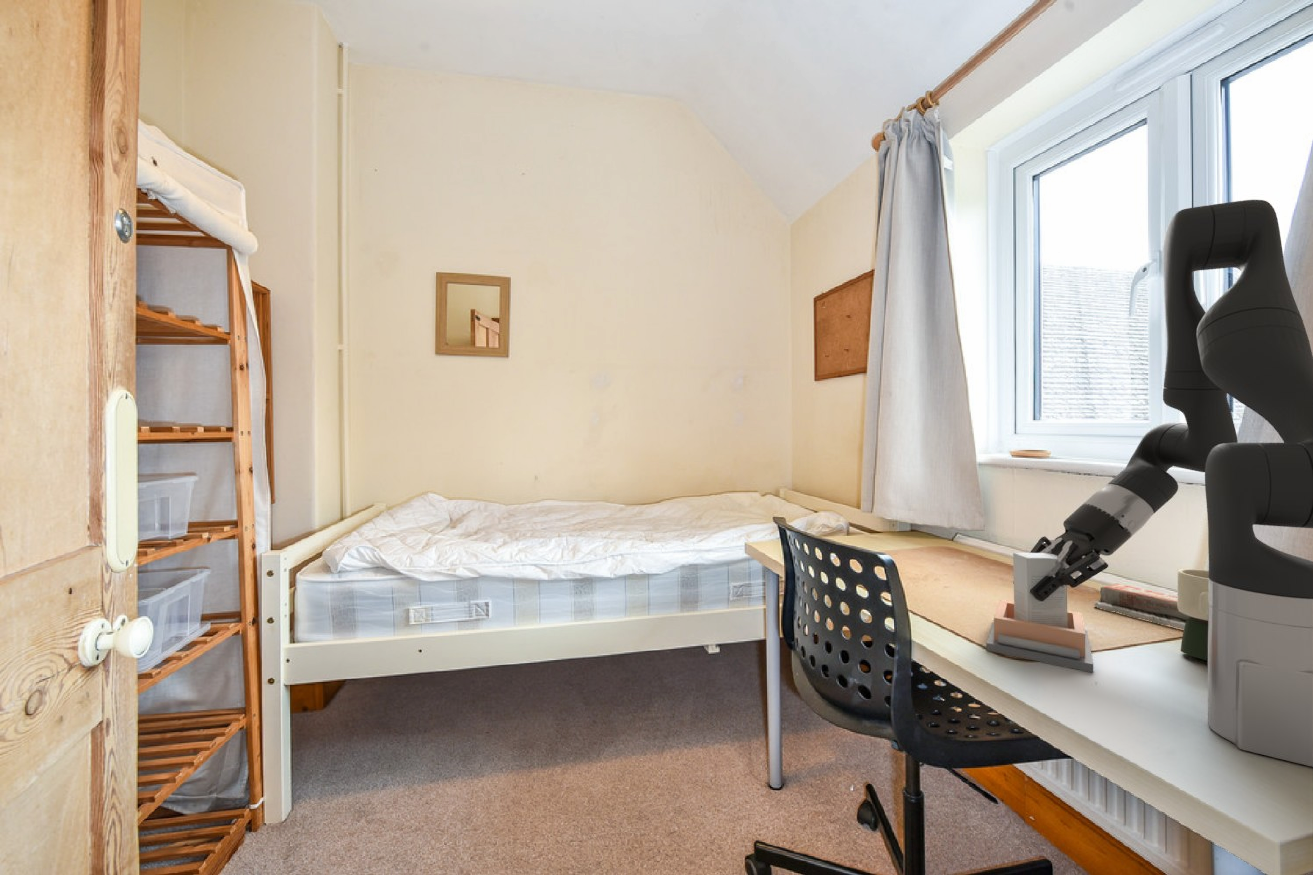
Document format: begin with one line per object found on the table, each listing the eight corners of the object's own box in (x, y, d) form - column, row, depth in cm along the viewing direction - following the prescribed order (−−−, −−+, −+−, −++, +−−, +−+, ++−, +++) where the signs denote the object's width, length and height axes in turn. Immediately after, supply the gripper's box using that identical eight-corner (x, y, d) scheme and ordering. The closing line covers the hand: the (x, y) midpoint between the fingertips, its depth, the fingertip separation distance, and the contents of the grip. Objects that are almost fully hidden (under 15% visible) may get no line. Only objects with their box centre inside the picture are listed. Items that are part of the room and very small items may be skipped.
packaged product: (1091, 584, 104) (1120, 579, 108) (1091, 609, 104) (1120, 603, 108) (1217, 613, 87) (1245, 605, 91) (1217, 642, 87) (1245, 633, 91)
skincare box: (1051, 624, 88) (1050, 552, 88) (1068, 633, 83) (1068, 558, 83) (1012, 623, 88) (1012, 551, 88) (1027, 632, 84) (1027, 557, 84)
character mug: (1240, 679, 73) (1241, 586, 73) (1170, 661, 79) (1170, 575, 79) (1249, 658, 80) (1250, 573, 80) (1183, 644, 86) (1184, 564, 86)
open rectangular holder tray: (1093, 672, 76) (1093, 640, 76) (986, 650, 83) (986, 620, 83) (1087, 637, 88) (1087, 609, 88) (995, 621, 96) (995, 595, 96)
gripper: (1060, 497, 92) (986, 565, 93) (1122, 508, 78) (1034, 588, 79) (1094, 528, 91) (1019, 595, 93) (1162, 545, 77) (1072, 625, 79)
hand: (1026, 592), depth 86 cm, fingers closed on skincare box, 4 cm apart
